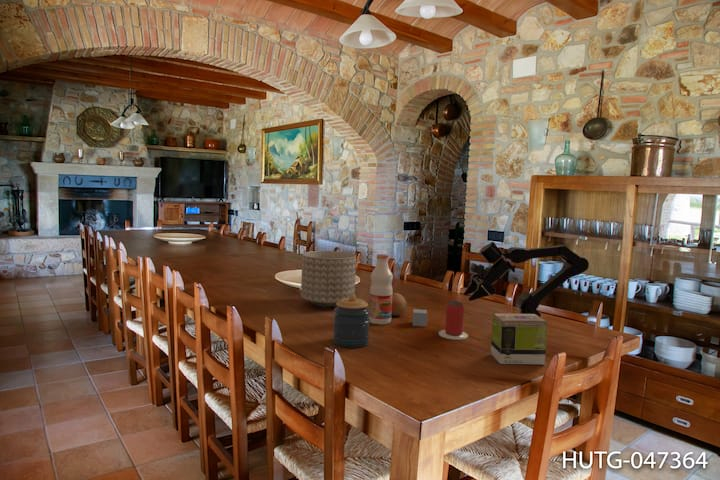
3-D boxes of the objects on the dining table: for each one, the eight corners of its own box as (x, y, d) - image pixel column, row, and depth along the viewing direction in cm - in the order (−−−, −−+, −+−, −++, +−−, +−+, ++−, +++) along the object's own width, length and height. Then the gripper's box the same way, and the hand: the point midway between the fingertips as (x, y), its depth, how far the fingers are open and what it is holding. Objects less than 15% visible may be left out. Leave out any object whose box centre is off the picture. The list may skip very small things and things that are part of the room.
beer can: (465, 336, 178) (467, 305, 177) (448, 336, 177) (450, 305, 176) (458, 331, 185) (460, 301, 183) (442, 331, 184) (444, 301, 182)
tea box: (532, 355, 162) (536, 313, 161) (545, 365, 152) (548, 321, 151) (489, 354, 162) (492, 311, 160) (499, 364, 152) (502, 319, 150)
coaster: (473, 338, 178) (473, 336, 178) (449, 341, 174) (449, 339, 174) (456, 330, 188) (456, 328, 188) (433, 332, 184) (433, 330, 184)
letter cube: (426, 323, 197) (427, 310, 196) (426, 326, 192) (427, 313, 191) (412, 322, 198) (413, 309, 197) (412, 326, 192) (413, 312, 191)
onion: (405, 319, 201) (406, 296, 200) (382, 317, 203) (383, 294, 202) (407, 313, 211) (408, 291, 210) (385, 311, 213) (386, 290, 211)
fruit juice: (375, 317, 202) (377, 252, 199) (394, 321, 198) (398, 255, 195) (364, 322, 194) (367, 255, 191) (384, 326, 190) (387, 257, 187)
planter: (292, 308, 212) (293, 256, 210) (311, 296, 236) (312, 249, 234) (346, 314, 206) (348, 260, 204) (359, 301, 231) (361, 253, 228)
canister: (348, 334, 177) (350, 288, 175) (376, 342, 169) (378, 294, 167) (324, 342, 167) (326, 293, 165) (352, 351, 159) (354, 300, 157)
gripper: (477, 253, 196) (449, 278, 198) (489, 260, 178) (457, 287, 179) (494, 272, 197) (466, 297, 198) (508, 281, 179) (477, 308, 180)
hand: (466, 297), depth 189 cm, fingers open, 9 cm apart
